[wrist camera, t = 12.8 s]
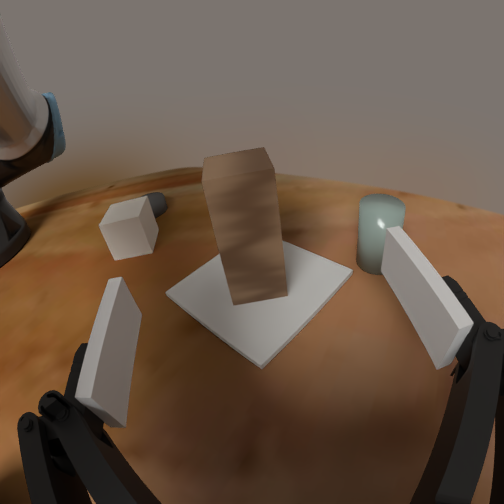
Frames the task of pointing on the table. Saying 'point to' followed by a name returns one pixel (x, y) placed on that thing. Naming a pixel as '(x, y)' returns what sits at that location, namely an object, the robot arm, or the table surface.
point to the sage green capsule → (376, 229)
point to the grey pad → (261, 303)
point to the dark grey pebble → (157, 203)
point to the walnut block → (246, 223)
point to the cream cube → (130, 228)
